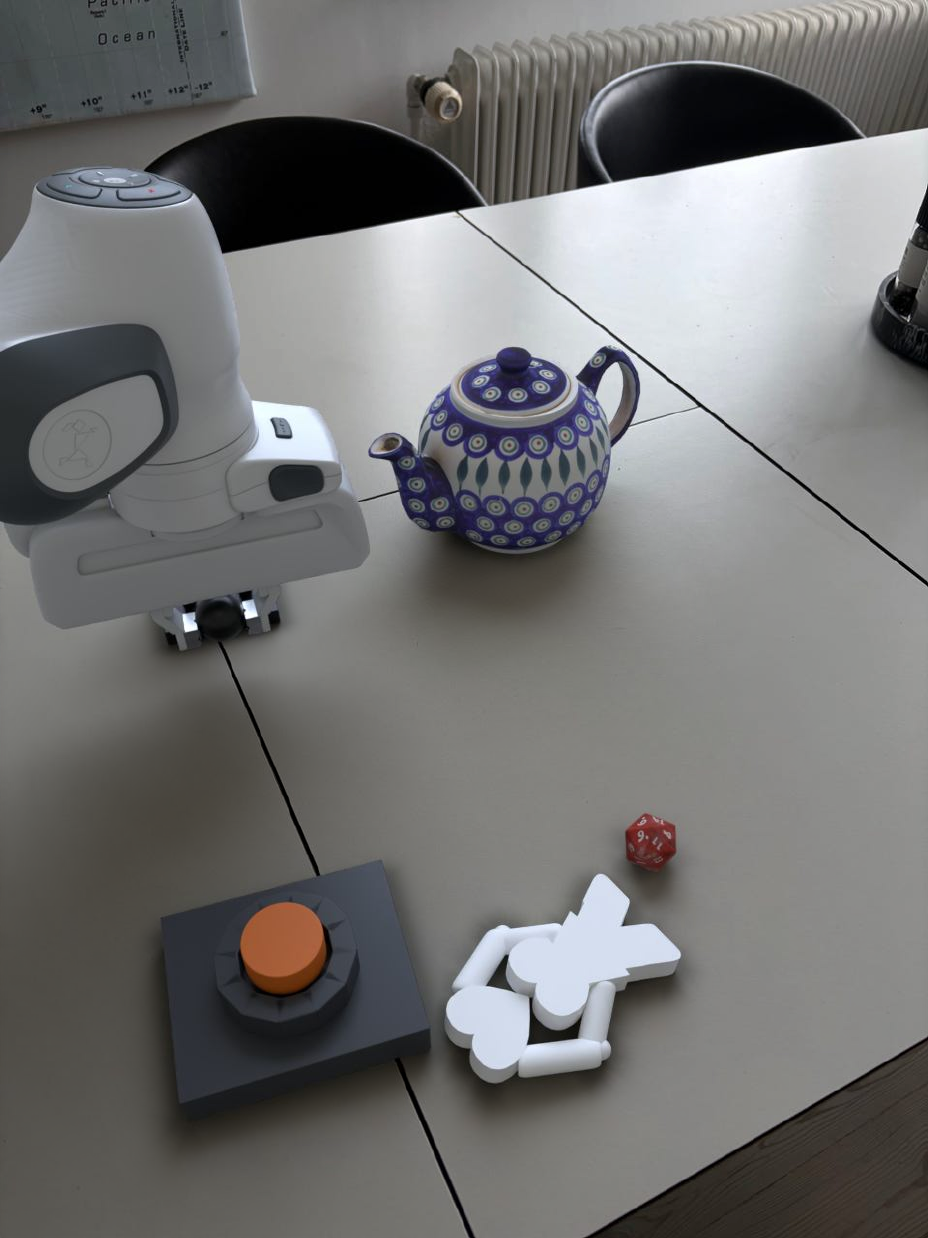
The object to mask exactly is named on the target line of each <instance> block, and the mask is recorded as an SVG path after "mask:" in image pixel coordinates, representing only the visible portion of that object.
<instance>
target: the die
mask: <svg viewBox="0 0 928 1238" xmlns="http://www.w3.org/2000/svg"><path fill="white" fill-rule="evenodd" d="M676 833H677V832H676V824H674V823H671V822H669V821H667V820H665V819H662V818H659V817H657V816H654V815H652V814H650V813H647V812H644V813H642V815H640V817H638V818H637V819H636V820H635V821H634V822H632V824H631V825H630V826H628V827H627V829H625V831H624V836H625V837H624V838H625V854H626V855H625V856H626V860H627V861H628V862H631V863H633V864H635V865H637V866H640V867H643V868H645V869H647V870H650V871H652V872H655V873H658V872H660V871H661V870H662V868H664V867H665V865H667V864H668V863H669V861H671V859H672V858H673V857H674V856H675V855H676V854H677V834H676Z"/></svg>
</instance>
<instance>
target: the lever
mask: <svg viewBox="0 0 928 1238" xmlns="http://www.w3.org/2000/svg"><path fill="white" fill-rule="evenodd" d="M195 622H196V623H197V626H198V630H199V631H200V632H201V634H202V635H204V636H205V638H206V639H208V640H210V641H214V642H221V643H222V642H226V641H227V642H228V641H230V640H232V639H234V638H236V637H237V636H238V635H239V634H240V633H241V631H242V630H241V629H242V628H243V625H244V622H245V615H244V609H243V607H242V605H241V603H240V602H239V601H238V600H237V599H236V598H234V597H233V596H231V595H226V596H221V597H217V598H212V599H207V600H202V601H201V602H200V603H199V605H198V607H197V609H196V612H195Z"/></svg>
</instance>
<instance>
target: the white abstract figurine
mask: <svg viewBox="0 0 928 1238" xmlns="http://www.w3.org/2000/svg"><path fill="white" fill-rule="evenodd" d="M630 902H631V901H630V899H629V898H628V896H626V894H625V893H624V892H623V891H622V890H621V889H620V888H619V887H618V886H617V885H616V884H615V882H613V881H612V880H611V879H610V878H609V877H608V876H607V875H606V874H603V873H598V874H596V875H595V877H594V878H593V879H592V881H591V883H590V885H589V887H588V888H587V891H586V893H585V895H584V897H583V899H582V902H581V905H580V909H579V912H578V914H577V915H576V914H575V913H574V912H573V911H571V910H570V911H569V912H568V915H567V916H566V919H565V920H564V922H563V924H560V923H558V922H557V923H555V922H554V923H553V922H552V923H546V924H537V925H530V926H522V927H514V928H510V927H509V926H507V925H505V924H501V925H500V924H499V925H498V926H496V927H495V928H493V929H489V930H488V931H487V932H486V933H485V935H483V937H482V939H481V940H480V941H479V943H478V945H477V946H476V948H475V949H474V951H473V952H472V953H471V955H470V957H469V958H468V959H467V961H466V963H465V965H463V967H462V969H461V970H460V972H459V974H458V975H457V976H456V978H455V980H454V981H453V983H452V985H451V991H452V993H453V995H452V996H451V997H450V998H449V1000H448V1001H447V1003H446V1008H445V1013H444V1021H443V1026H444V1031H445V1033H446V1035H447V1037H448V1038H449V1040H450V1041H451V1042H452V1043H453V1044H455V1045H456V1046H458V1047H460V1048H463V1049H469V1050H470V1051H469V1056H468V1057H469V1064H470V1066H471V1069H472V1071H473V1072H474V1073H475V1074H476V1075H477V1076H478V1077H479V1078H480V1079H481V1080H483V1081H485V1082H486V1083H491V1084H498V1083H503V1082H504V1081H506V1080H508V1079H510V1078H511V1077H513V1076H514V1075H515V1074H516V1073H517V1072H518V1076H519V1077H520V1078H534V1077H540V1076H548V1075H554V1074H555V1075H557V1074H564V1073H570V1072H577V1071H586V1070H592V1069H596V1068H599V1067H600V1066H602V1061H606V1060H607V1059H609V1058H610V1056H611V1053H612V1048H611V1047H612V1046H611V1044H610V1042H609V1041H608V1040H607V1038H608V1033H609V1027H610V1022H611V1017H612V1012H613V1007H614V1001H615V996H616V993H617V992H621V991H625V989H626V987H627V984H628V983H630V982H631V983H632V982H636V981H641V980H646V979H654V978H662V977H668V976H670V975H673V974H674V972H675V971H676V969H677V966H678V964H679V961H680V959H681V956H682V954H681V953H682V952H681V951H680V949H678V947H677V946H676V945H675V944H674V943H673V942H672V941H671V940H670V939H669V938H668V937H667V936H666V935H665V934H664V933H663V932H662V931H661V930H660V929H659V928H658V927H657V926H656V925H655V924H653V923H641V924H631V925H624V926H623V924H624V922H625V920H626V916H627V913H628V909H629V906H630ZM505 956H508V959H507V962H506V963H507V965H506V969H505V977H506V981H507V983H508V984H509V986H510V988H511V989H512V990H513V991H511V990H508V989H503V988H498V987H493V986H488V983H489V982H490V980H491V978H492V977H493V975H494V974H495V972H496V971H497V969H498V967H499V965H500V964H501V962H502V961H503V959H504V958H505ZM531 998H532V1002H531V1007H532V1013H533V1014H534V1016H535V1018H536V1019H537V1020H538V1022H539V1023H540V1024H542V1025H543V1026H544V1027H545V1028H548V1029H550V1030H553V1031H564V1030H566V1029H568V1028H570V1027H572V1026H573V1025H575V1024H576V1023H577V1022H578V1021H579V1020H580V1019H581V1021H580V1025H579V1031H578V1036H577V1038H574V1039H566V1040H559V1041H550V1042H543V1043H535V1044H528V1041H529V1037H530V1021H531V1019H530V999H531Z"/></svg>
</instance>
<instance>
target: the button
mask: <svg viewBox="0 0 928 1238" xmlns="http://www.w3.org/2000/svg"><path fill="white" fill-rule="evenodd" d="M240 950H241V954H242V958H243V961H244V964H245V968H246V971H247V974H248V976H249V978H250V979H251V981H252V982H253V983H254V984H255V985H256V986H257V987H258V988H260V989H261V990H263V991H266V992H268V993H272V994H290V993H294V992H297V991H299V990H301V989H303V988H305V987H306V986H308V985H309V984H310V983H312V982H313V981H314V980H315V979H316V978H317V976H318V975H319V974H320V972H321V970H322V969H323V966H324V964H325V960H326V944H325V939H324V933H323V928H322V925H321V922H320V920H319V919H318V917H317V916H316V915H315V913H314V912H313V911H311V910H310V909H309V908H307V907H305V906H303V905H300V904H297V903H291V902H284V903H277V904H273V905H270V906H268V907H266V908H264V909H262V910H260V911H259V912H258V913H256V914H255V915H254V916H253V917H252V918H251V919H250V920H249V922H248V923H247V925H246V926H245V928H244V930H243V933H242V936H241V941H240Z"/></svg>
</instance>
